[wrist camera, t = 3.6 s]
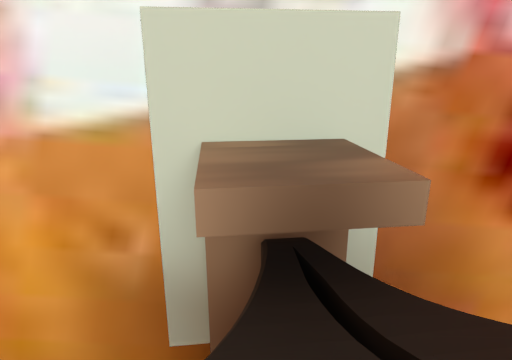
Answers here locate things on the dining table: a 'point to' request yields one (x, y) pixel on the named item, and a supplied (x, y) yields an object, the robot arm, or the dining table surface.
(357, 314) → the robot arm
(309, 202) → the brown t-shaped bar
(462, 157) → the dining table surface
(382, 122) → the mat
